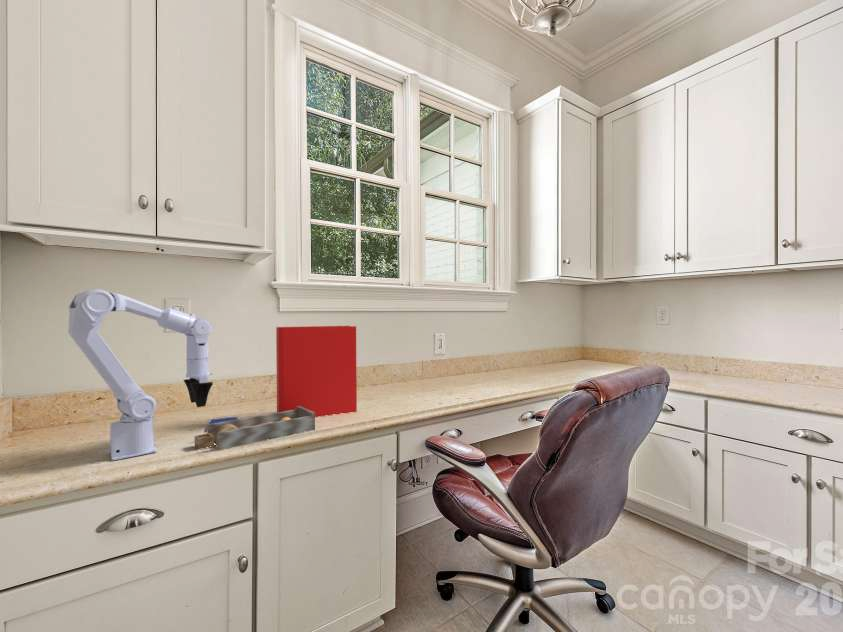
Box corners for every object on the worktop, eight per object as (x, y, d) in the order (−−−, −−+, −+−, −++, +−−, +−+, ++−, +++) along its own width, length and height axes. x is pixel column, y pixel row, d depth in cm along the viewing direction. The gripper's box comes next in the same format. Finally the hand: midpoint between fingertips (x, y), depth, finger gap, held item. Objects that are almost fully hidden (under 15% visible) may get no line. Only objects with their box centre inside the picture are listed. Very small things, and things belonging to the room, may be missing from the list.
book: (350, 407, 153) (349, 325, 153) (356, 411, 146) (356, 326, 146) (276, 416, 141) (275, 327, 140) (279, 421, 133) (279, 327, 133)
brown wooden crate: (197, 450, 106) (197, 439, 106) (194, 446, 109) (194, 435, 109) (214, 446, 108) (214, 436, 108) (210, 443, 111) (210, 432, 111)
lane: (218, 465, 105) (217, 429, 105) (207, 453, 114) (207, 421, 114) (315, 442, 124) (314, 412, 124) (299, 434, 132) (299, 405, 132)
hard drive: (210, 419, 133) (206, 429, 122) (237, 416, 136) (235, 425, 125) (211, 423, 133) (206, 434, 122) (237, 421, 136) (235, 430, 125)
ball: (285, 416, 121) (296, 420, 124) (280, 414, 124) (291, 418, 127) (279, 429, 120) (291, 433, 122) (274, 426, 123) (286, 430, 125)
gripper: (219, 359, 113) (219, 406, 113) (206, 355, 124) (207, 398, 124) (191, 361, 109) (191, 410, 109) (181, 357, 120) (181, 401, 120)
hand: (198, 404), depth 116 cm, fingers open, 7 cm apart
